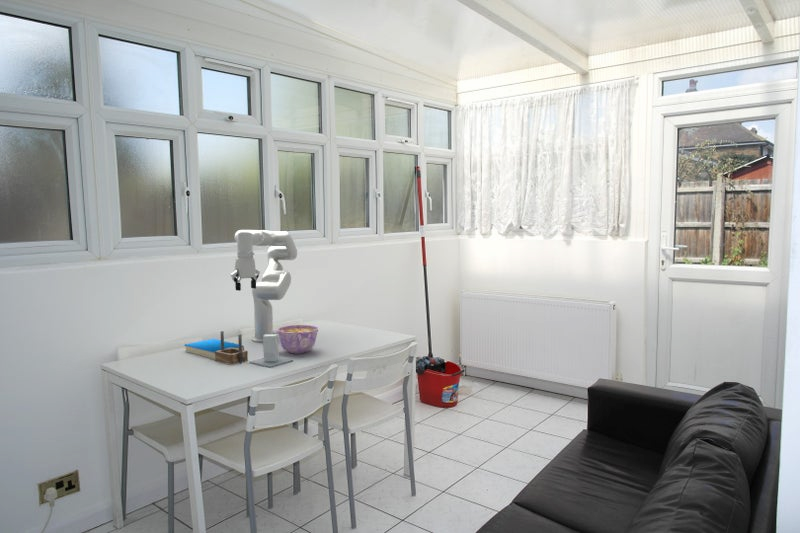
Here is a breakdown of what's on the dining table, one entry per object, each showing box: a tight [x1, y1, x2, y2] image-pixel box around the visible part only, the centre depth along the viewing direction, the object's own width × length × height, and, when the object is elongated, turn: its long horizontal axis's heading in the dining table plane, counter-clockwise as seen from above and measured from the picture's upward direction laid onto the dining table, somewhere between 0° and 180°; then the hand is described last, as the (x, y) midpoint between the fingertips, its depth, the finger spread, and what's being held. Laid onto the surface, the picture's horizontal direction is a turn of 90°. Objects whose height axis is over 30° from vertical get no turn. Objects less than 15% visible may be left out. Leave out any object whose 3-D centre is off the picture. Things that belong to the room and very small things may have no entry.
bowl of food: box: [276, 324, 319, 355], centre depth 270 cm, size 20×20×12 cm
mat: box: [248, 356, 294, 369], centre depth 251 cm, size 14×14×1 cm
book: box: [184, 338, 245, 360], centre depth 270 cm, size 17×4×25 cm
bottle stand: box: [214, 330, 249, 365], centre depth 253 cm, size 9×14×13 cm, turn 55°
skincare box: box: [262, 334, 279, 362], centre depth 250 cm, size 6×4×12 cm
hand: (246, 289), depth 274 cm, fingers open, 9 cm apart
